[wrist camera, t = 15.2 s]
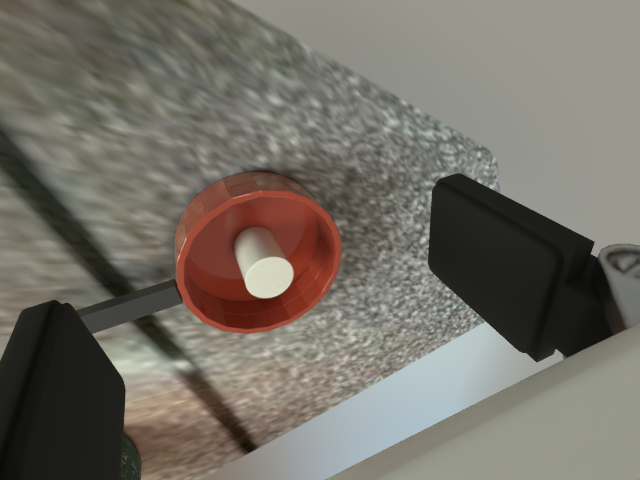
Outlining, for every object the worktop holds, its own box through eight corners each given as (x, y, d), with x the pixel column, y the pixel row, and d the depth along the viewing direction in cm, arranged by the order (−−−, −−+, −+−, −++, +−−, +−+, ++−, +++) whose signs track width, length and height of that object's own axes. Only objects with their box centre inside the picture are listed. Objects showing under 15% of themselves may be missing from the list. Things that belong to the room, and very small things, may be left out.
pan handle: (50, 318, 30) (47, 328, 29) (174, 278, 33) (175, 286, 32) (62, 335, 31) (59, 345, 30) (182, 295, 34) (182, 303, 33)
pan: (148, 196, 32) (148, 221, 28) (311, 153, 35) (332, 170, 31) (202, 321, 40) (207, 354, 36) (329, 276, 44) (347, 301, 40)
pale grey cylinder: (228, 234, 36) (239, 266, 31) (271, 221, 37) (289, 250, 32) (239, 269, 38) (251, 305, 33) (279, 256, 39) (297, 288, 34)
